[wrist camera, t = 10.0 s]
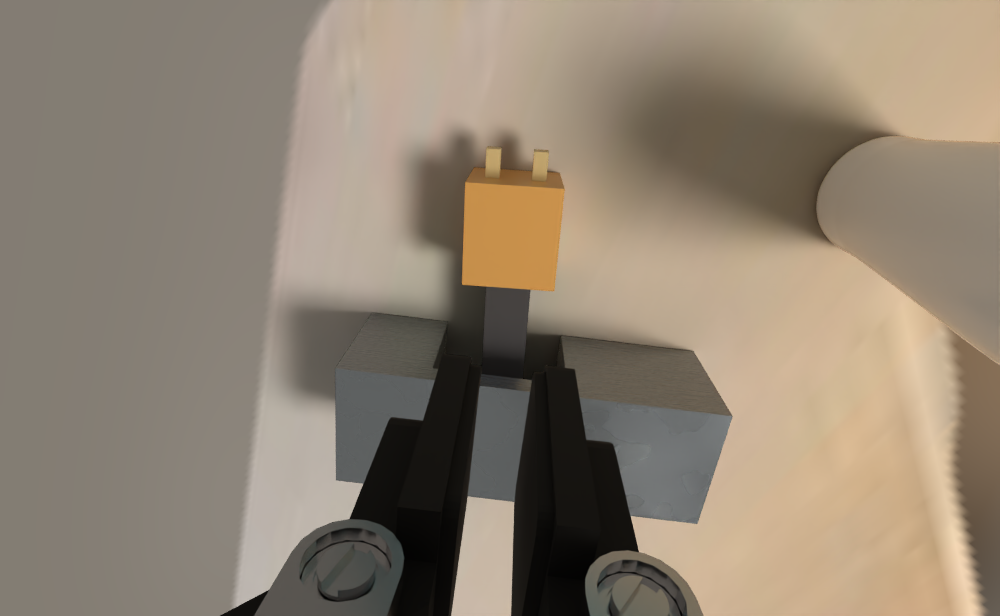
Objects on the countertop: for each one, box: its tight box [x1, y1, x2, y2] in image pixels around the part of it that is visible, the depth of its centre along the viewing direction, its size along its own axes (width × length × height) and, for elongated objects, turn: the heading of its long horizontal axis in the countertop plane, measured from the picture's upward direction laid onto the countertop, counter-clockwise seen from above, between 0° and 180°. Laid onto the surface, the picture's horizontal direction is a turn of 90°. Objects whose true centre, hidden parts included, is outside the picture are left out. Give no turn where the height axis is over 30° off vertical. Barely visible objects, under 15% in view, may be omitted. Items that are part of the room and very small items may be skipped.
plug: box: [462, 146, 565, 379], centre depth 27 cm, size 4×17×4 cm, turn 177°
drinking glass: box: [816, 136, 1000, 365], centre depth 19 cm, size 7×7×15 cm
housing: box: [335, 313, 733, 524], centre depth 27 cm, size 17×6×6 cm, turn 84°
